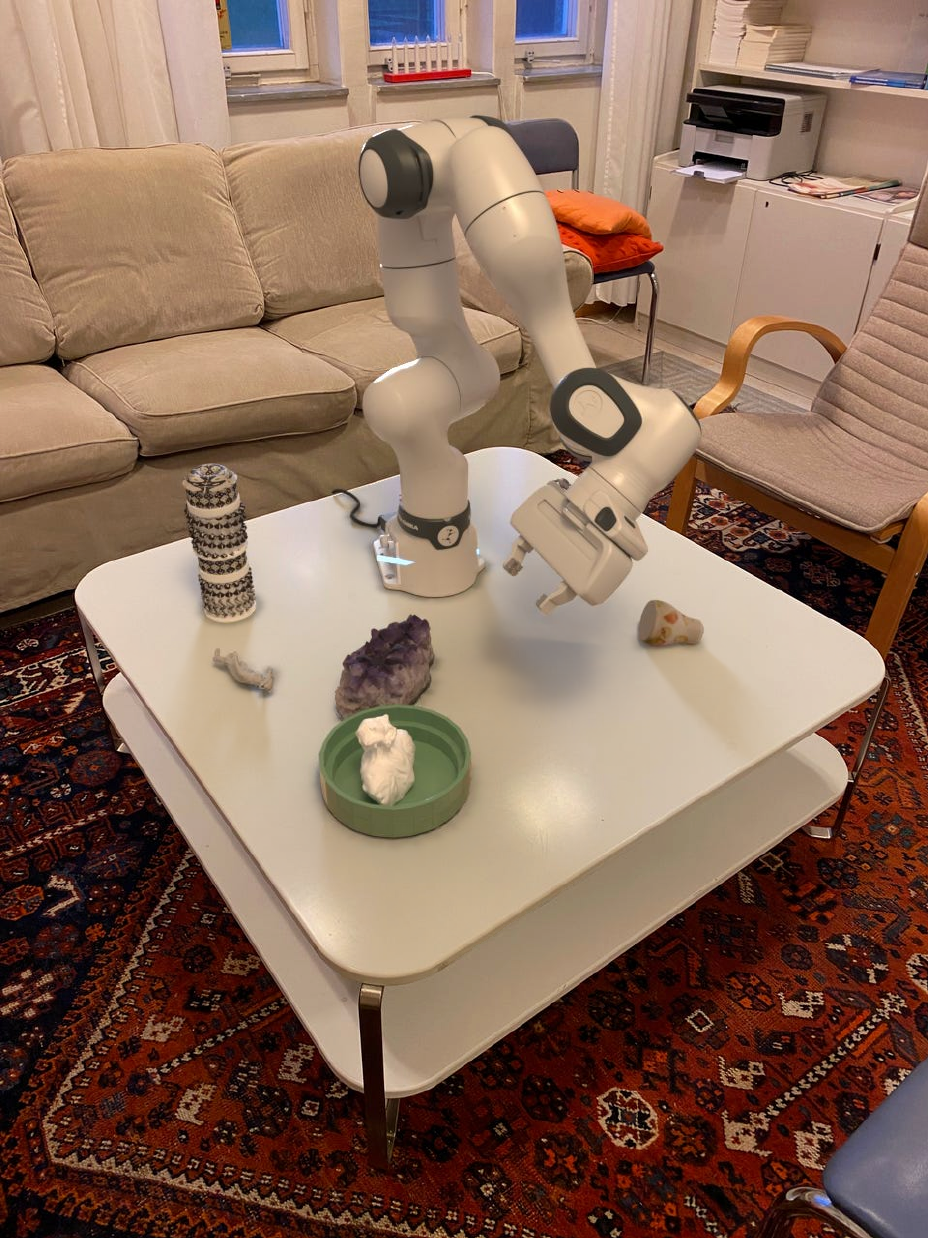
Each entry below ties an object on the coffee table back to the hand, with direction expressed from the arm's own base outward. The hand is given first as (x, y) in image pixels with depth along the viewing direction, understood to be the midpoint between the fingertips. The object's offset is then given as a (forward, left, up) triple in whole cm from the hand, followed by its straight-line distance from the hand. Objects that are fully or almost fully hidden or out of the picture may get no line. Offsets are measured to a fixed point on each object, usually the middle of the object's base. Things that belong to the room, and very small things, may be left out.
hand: (523, 590), depth 120 cm
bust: (+4, -21, -23) cm, 31 cm away
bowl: (+4, -19, -23) cm, 30 cm away
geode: (-15, -13, -23) cm, 31 cm away
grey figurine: (-25, -32, -23) cm, 47 cm away
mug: (-9, +32, -23) cm, 40 cm away
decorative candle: (-45, -30, -23) cm, 59 cm away
